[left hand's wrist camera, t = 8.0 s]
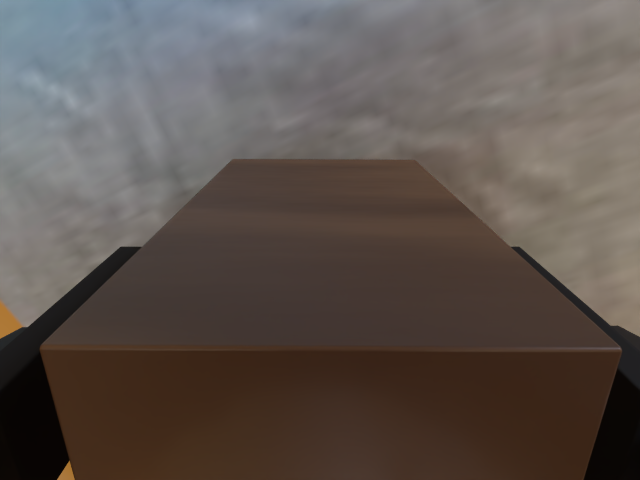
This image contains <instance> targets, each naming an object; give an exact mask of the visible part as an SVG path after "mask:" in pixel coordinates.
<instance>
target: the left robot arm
mask: <svg viewBox="0 0 640 480" xmlns="http://www.w3.org/2000/svg"><path fill="white" fill-rule="evenodd" d="M141 248H142V247H120V248H119V249H118V250H116V251H115V252H114V253H113V254H112V255H111V256H110V257H108V258H107V259H106V260H105V261H104V262H103V263H101V264H100V265H99V266H98V267H97V268H96V269H95V270H93V271H92V272H91V273H90V274H89V275H88V276H86V277H85V278H84V279H83V280H82V281H81V282H79V283H78V284H77V285H76V286H75V287H74V288H73V289H71V290H70V291H69V292H68V293H67V294H66V295H64V296H63V297H62V298H61V299H60V300H59V301H58V302H56V303H55V304H54V305H53V306H52V307H51V308H49V309H48V310H47V311H46V312H45V313H44V314H42V315H41V316H40V317H39V318H38V319H37V320H36V321H34V322H33V323H32V324H31V325H30V326H29V327H22V328H20V329H18V330H16V331H14V332H12V333H10V334H9V335H7V336H5V337H3V338H1V339H0V480H57V479H58V477H59V476H60V474H61V473H62V471H63V470H64V468H65V466H66V465H67V463H68V462H69V456H68V452H67V449H66V445H65V441H64V438H63V434H62V430H61V427H60V423H59V419H58V416H57V412H56V408H55V405H54V401H53V397H52V394H51V390H50V386H49V383H48V379H47V375H46V372H45V368H44V364H43V360H42V357H41V353H40V346H41V344H42V343H43V342H44V341H45V340H47V339H48V338H49V337H50V336H51V335H52V334H53V333H54V332H55V331H56V330H57V329H58V328H59V327H60V326H61V325H62V324H63V323H64V322H65V321H66V320H67V319H68V318H69V317H70V316H71V315H72V314H73V313H74V312H75V311H76V310H77V309H79V308H80V307H81V306H82V305H83V304H84V303H85V302H86V301H87V300H88V299H89V298H90V297H91V296H92V295H93V294H94V293H95V292H96V291H97V290H98V289H99V288H100V287H101V286H102V285H103V284H104V283H105V282H106V281H107V280H108V279H110V278H111V277H112V276H113V275H114V274H115V273H116V272H117V271H118V270H119V269H120V268H121V267H122V266H123V265H124V264H125V263H126V262H127V261H128V260H129V259H130V258H131V257H132V256H133V255H134V254H135V253H136V252H137V251H138V250H139V249H141ZM511 248H512V249H513V250H514V251H516V252H517V253H518V254H519V255H520V256H521V257H522V258H523V259H524V260H525V261H527V262H528V263H529V264H530V265H531V266H532V267H533V268H534V269H535V270H536V271H538V272H539V273H540V274H541V275H542V276H543V277H544V278H545V279H546V280H547V281H549V282H550V283H551V284H552V285H553V286H554V287H555V288H556V289H557V290H558V291H560V292H561V293H562V294H563V295H564V296H565V297H566V298H567V299H568V300H569V301H571V302H572V303H573V304H574V305H575V306H576V307H577V308H578V309H579V310H580V311H582V312H583V313H584V314H585V315H586V316H587V317H588V318H589V319H590V320H592V321H593V322H594V323H595V324H596V325H597V326H598V327H599V328H600V329H601V330H603V331H604V332H605V333H606V334H607V335H608V336H609V337H610V338H611V339H612V340H614V341H615V342H616V343H617V344H618V345H619V346H620V347H621V349H622V354H621V357H620V361H619V364H618V367H617V371H616V374H615V377H614V380H613V384H612V387H611V390H610V394H609V397H608V400H607V404H606V407H605V410H604V414H603V417H602V420H601V423H600V427H599V430H598V433H597V437H596V440H595V443H594V447H593V450H592V453H591V456H590V460H589V463H588V466H587V470H586V473H585V476H584V480H640V337H639V336H637V335H635V334H633V333H631V332H629V331H627V330H625V329H623V328H621V327H619V326H610V325H609V324H608V323H607V322H606V321H604V320H603V319H602V318H601V317H600V316H599V315H598V314H596V313H595V312H594V311H593V310H592V309H591V308H589V307H588V306H587V305H586V304H585V303H584V302H582V301H581V300H580V299H579V298H578V297H577V296H576V295H574V294H573V293H572V292H571V291H570V290H569V289H567V288H566V287H565V286H564V285H563V284H562V283H561V282H559V281H558V280H557V279H556V278H555V277H554V276H552V275H551V274H550V273H549V272H548V271H547V270H545V269H544V268H543V267H542V266H541V265H540V264H539V263H537V262H536V261H535V260H534V259H533V258H532V257H530V256H529V255H528V254H527V253H526V252H525V251H524V250H522V249H521V248H520V247H511Z"/></svg>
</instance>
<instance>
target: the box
mask: <svg viewBox="0 0 640 480" xmlns="http://www.w3.org/2000/svg"><path fill="white" fill-rule="evenodd" d="M40 353H41V357H42V360H43V364H44V368H45V372H46V375H47V379H48V383H49V386H50V390H51V394H52V397H53V401H54V405H55V408H56V412H57V416H58V419H59V423H60V427H61V430H62V434H63V438H64V441H65V445H66V449H67V452H68V456H69V460H70V463H71V467H72V471H73V474H74V478H75V480H584V476H585V473H586V470H587V466H588V463H589V460H590V456H591V453H592V450H593V447H594V443H595V440H596V437H597V433H598V430H599V427H600V423H601V420H602V417H603V414H604V410H605V407H606V404H607V400H608V397H609V394H610V390H611V387H612V384H613V380H614V377H615V374H616V371H617V367H618V364H619V361H620V357H621V354H622V349H621V347H620V346H619V345H618V344H617V343H616V342H615V341H614V340H612V339H611V338H610V337H609V336H608V335H607V334H606V333H605V332H604V331H603V330H601V329H600V328H599V327H598V326H597V325H596V324H595V323H594V322H593V321H592V320H590V319H589V318H588V317H587V316H586V315H585V314H584V313H583V312H582V311H580V310H579V309H578V308H577V307H576V306H575V305H574V304H573V303H572V302H571V301H569V300H568V299H567V298H566V297H565V296H564V295H563V294H562V293H561V292H560V291H558V290H557V289H556V288H555V287H554V286H553V285H552V284H551V283H550V282H549V281H547V280H546V279H545V278H544V277H543V276H542V275H541V274H540V273H539V272H538V271H536V270H535V269H534V268H533V267H532V266H531V265H530V264H529V263H528V262H527V261H525V260H524V259H523V258H522V257H521V256H520V255H519V254H518V253H517V252H516V251H514V250H513V249H512V248H511V247H510V246H509V245H508V244H507V243H506V242H505V241H503V240H502V239H501V238H500V237H499V236H498V235H497V234H496V233H495V232H494V231H492V230H491V229H490V228H489V227H488V226H487V225H486V224H485V223H484V222H482V221H481V220H480V219H479V218H478V217H477V216H476V215H475V214H474V213H473V212H471V211H470V210H469V209H468V208H467V207H466V206H465V205H464V204H463V203H462V202H460V201H459V200H458V199H457V198H456V197H455V196H454V195H453V194H452V193H451V192H449V191H448V190H447V189H446V188H445V187H444V186H443V185H442V184H441V183H440V182H438V181H437V180H436V179H435V178H434V177H433V176H432V175H431V174H430V173H429V172H427V171H426V170H425V169H424V168H423V167H422V166H421V165H420V164H419V163H418V162H416V161H415V160H310V159H233V160H231V161H230V162H229V163H228V164H227V165H226V166H225V167H224V168H223V169H222V170H221V171H220V172H219V173H218V174H217V175H216V176H215V177H214V178H213V179H212V180H211V181H210V182H209V183H208V184H207V185H206V186H205V187H204V188H202V189H201V190H200V191H199V192H198V193H197V194H196V195H195V196H194V197H193V198H192V199H191V200H190V201H189V202H188V203H187V204H186V205H185V206H184V207H183V208H182V209H181V210H180V211H179V212H178V213H177V214H176V215H175V216H174V217H173V218H171V219H170V220H169V221H168V222H167V223H166V224H165V225H164V226H163V227H162V228H161V229H160V230H159V231H158V232H157V233H156V234H155V235H154V236H153V237H152V238H151V239H150V240H149V241H148V242H147V243H146V244H145V245H144V246H143V247H142V248H141V249H139V250H138V251H137V252H136V253H135V254H134V255H133V256H132V257H131V258H130V259H129V260H128V261H127V262H126V263H125V264H124V265H123V266H122V267H121V268H120V269H119V270H118V271H117V272H116V273H115V274H114V275H113V276H112V277H111V278H110V279H108V280H107V281H106V282H105V283H104V284H103V285H102V286H101V287H100V288H99V289H98V290H97V291H96V292H95V293H94V294H93V295H92V296H91V297H90V298H89V299H88V300H87V301H86V302H85V303H84V304H83V305H82V306H81V307H80V308H79V309H77V310H76V311H75V312H74V313H73V314H72V315H71V316H70V317H69V318H68V319H67V320H66V321H65V322H64V323H63V324H62V325H61V326H60V327H59V328H58V329H57V330H56V331H55V332H54V333H53V334H52V335H51V336H50V337H49V338H48V339H47V340H45V341H44V342H43V343H42V344H41V346H40Z"/></svg>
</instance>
